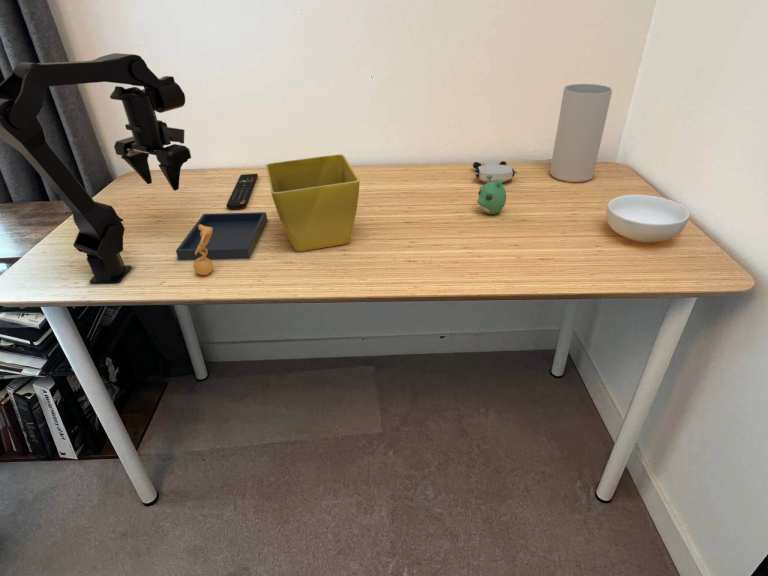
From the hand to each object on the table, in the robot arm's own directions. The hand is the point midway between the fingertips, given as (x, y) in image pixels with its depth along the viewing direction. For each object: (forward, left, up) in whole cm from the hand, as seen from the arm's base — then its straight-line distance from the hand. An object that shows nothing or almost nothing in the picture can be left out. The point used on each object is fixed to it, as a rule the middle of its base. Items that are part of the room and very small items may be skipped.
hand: (162, 186), depth 111 cm
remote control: (+28, -9, -14) cm, 33 cm away
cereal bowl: (-4, -112, -14) cm, 113 cm away
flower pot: (-1, -35, -14) cm, 38 cm away
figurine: (-17, -13, -14) cm, 25 cm away
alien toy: (+10, -79, -14) cm, 81 cm away
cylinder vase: (+35, -108, -14) cm, 115 cm away
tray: (-1, -12, -14) cm, 18 cm away
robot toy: (+35, -84, -14) cm, 92 cm away
